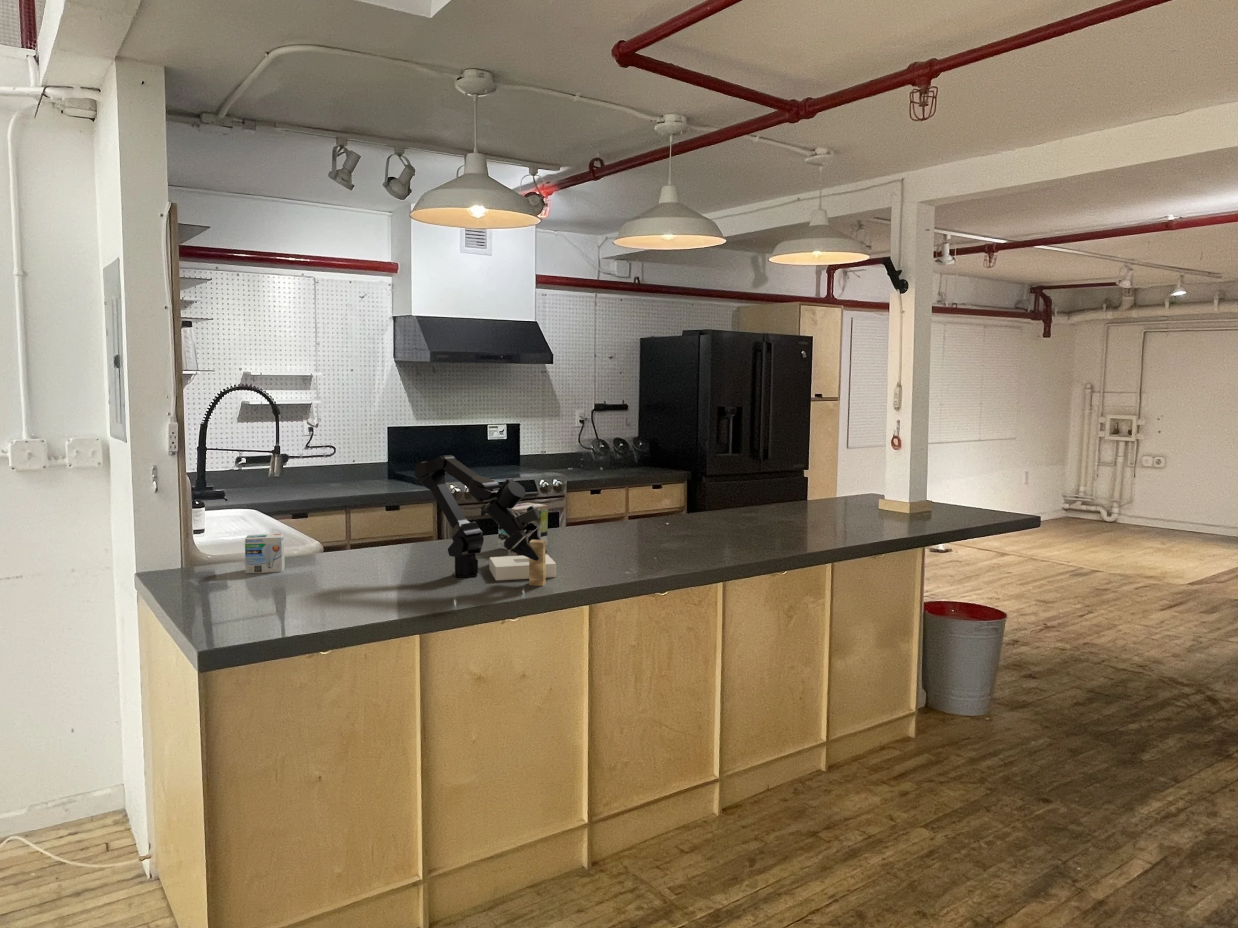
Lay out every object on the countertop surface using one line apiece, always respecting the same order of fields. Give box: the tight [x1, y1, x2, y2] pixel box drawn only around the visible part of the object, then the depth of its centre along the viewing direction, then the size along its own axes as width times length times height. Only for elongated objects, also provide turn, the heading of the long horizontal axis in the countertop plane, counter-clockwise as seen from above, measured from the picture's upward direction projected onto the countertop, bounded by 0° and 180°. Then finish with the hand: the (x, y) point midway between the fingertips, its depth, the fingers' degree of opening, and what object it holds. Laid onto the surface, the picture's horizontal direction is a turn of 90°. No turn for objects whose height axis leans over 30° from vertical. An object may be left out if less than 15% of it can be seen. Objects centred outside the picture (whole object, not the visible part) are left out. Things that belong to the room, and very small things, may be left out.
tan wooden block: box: [528, 540, 546, 587], centre depth 255 cm, size 4×4×12 cm
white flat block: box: [489, 553, 557, 581], centre depth 268 cm, size 18×14×4 cm
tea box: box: [497, 502, 549, 551], centre depth 308 cm, size 15×10×15 cm, turn 143°
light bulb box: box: [244, 533, 286, 574], centre depth 269 cm, size 11×7×11 cm, turn 106°
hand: (542, 556), depth 254 cm, fingers open, 9 cm apart
